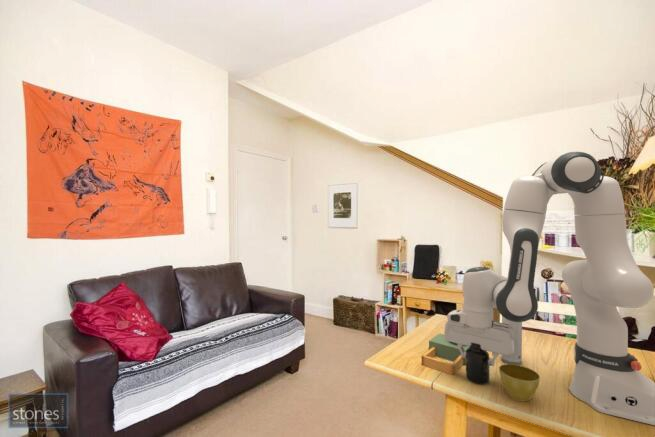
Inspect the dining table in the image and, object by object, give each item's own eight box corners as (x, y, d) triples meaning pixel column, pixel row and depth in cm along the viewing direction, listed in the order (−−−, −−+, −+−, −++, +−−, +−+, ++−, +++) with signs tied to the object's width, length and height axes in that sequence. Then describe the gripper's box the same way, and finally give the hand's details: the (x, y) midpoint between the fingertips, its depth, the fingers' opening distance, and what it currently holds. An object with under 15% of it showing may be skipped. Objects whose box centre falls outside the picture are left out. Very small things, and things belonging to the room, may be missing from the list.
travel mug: (525, 366, 109) (526, 309, 109) (504, 364, 111) (505, 307, 110) (518, 358, 115) (519, 304, 115) (498, 356, 117) (499, 303, 117)
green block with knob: (476, 356, 117) (476, 329, 117) (467, 365, 109) (468, 337, 109) (438, 345, 126) (439, 321, 126) (428, 353, 119) (429, 327, 119)
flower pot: (502, 383, 98) (502, 360, 98) (541, 395, 92) (541, 370, 91) (495, 397, 90) (495, 372, 90) (537, 411, 84) (537, 385, 84)
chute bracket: (463, 364, 110) (463, 355, 110) (453, 375, 103) (453, 365, 103) (432, 355, 118) (432, 347, 118) (421, 364, 110) (421, 356, 110)
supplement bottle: (484, 374, 103) (484, 338, 103) (493, 385, 96) (493, 346, 96) (462, 373, 104) (462, 337, 104) (469, 384, 97) (470, 345, 97)
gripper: (517, 322, 96) (516, 367, 96) (449, 309, 109) (449, 349, 109) (512, 328, 91) (512, 375, 91) (442, 314, 104) (442, 355, 104)
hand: (477, 361), depth 100 cm, fingers closed on supplement bottle, 7 cm apart
